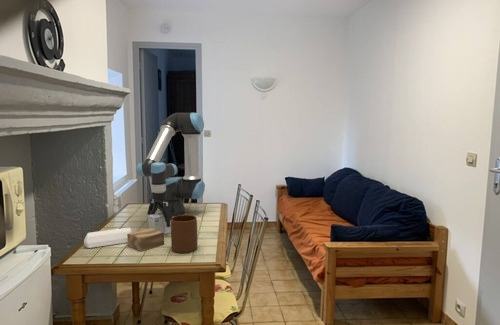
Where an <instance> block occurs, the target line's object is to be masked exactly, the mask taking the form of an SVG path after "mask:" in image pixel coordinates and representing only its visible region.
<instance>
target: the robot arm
mask: <svg viewBox="0 0 500 325" xmlns="http://www.w3.org/2000/svg"><path fill="white" fill-rule="evenodd" d="M204 128H205V120H204V118H203V116H202V115H201V114H200V113H198V112H175V113H172V114H170V115H169V116H168V117H167V118H165V120H163V122H162V123H161V125H160V127H159V130H160V131H159V133H158V135H157V137H156V139H155V140H154V142H153V145H152V147H151V149H150V151H149V152H148V155H147V156H146V158H145V160H144V162H140V163H138V164H137V166H136V173H137V175H138V176H140V177H145V178H146V177H149V178H151V179H150V180H151V198H150V199H149V206H148V208H147V213H146V215H153V214H157V213H156V212H157V210H160V211H161V212H162V214H163V216H164V218H165V220H166V221H165V233H167V234H170V233H169V232H170V221H171V218H172V217H175V216H179V215H184V214H185V213H186V208H185V205H184V202H183V199H187V200H189V199H191V200H200V199H201V198H202V197H203V195H204V193H205V189H206V184H205V181H203V180H202V177H201V176H200V174H199V173H200V172H199V167H200V165H199V164H200V163H199V137H200V136H201V134H202V132H203V131H204ZM177 132H181V135H182V136H183V138H184V139H183V140H184V142H183V143H184V176H183V177H182V176H176V175H177V174H178V167H177V166H176V164H174V163H165V162H160V161H161V159H162V158H163V155H164V153H165V151H166V149H167V147H168V145H169V143H170V141H171V140H172V137H174V136H175V135H176V133H177ZM161 212H160V213H161Z"/></svg>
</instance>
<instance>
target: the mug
mask: <svg viewBox="0 0 500 325" xmlns="http://www.w3.org/2000/svg"><path fill="white" fill-rule="evenodd" d="M170 239H171V242H170V243H171V250H172V251H173V252H175V253H178V254H188V253H192V252H195V251H196V250H197V248H198V219H197V217H196V216H195V215H191V214H189V213H187V212H185V213H184V214H182V215H178V216H172V218H171V233H170Z"/></svg>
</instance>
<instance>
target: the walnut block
mask: <svg viewBox="0 0 500 325" xmlns="http://www.w3.org/2000/svg"><path fill="white" fill-rule="evenodd" d="M127 238H128V242H127V247H129V248H132V249H134V250H136V251H139V252H145V251H148V250H151V249H152V250H153V249H155V248H158V247H160V246H164V245H165V234H164V233H163V232H160V231H158V230H155V229H152V228H149V227H147V228H144V229H143V228H142V229H140V230H136V231H132V233H128V234H127Z"/></svg>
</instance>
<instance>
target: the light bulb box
mask: <svg viewBox="0 0 500 325" xmlns="http://www.w3.org/2000/svg"><path fill="white" fill-rule="evenodd" d="M147 215H148V214H147ZM147 220H148V228H152V229H155V230H158V231H160V232H163V233H164V235H166V234H167V235H168V234H171V221H170V232H169V233H165V221H166V220H165V218H164V216H163V214H162V212H158V213H155V214H153V215H148V216H147Z"/></svg>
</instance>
